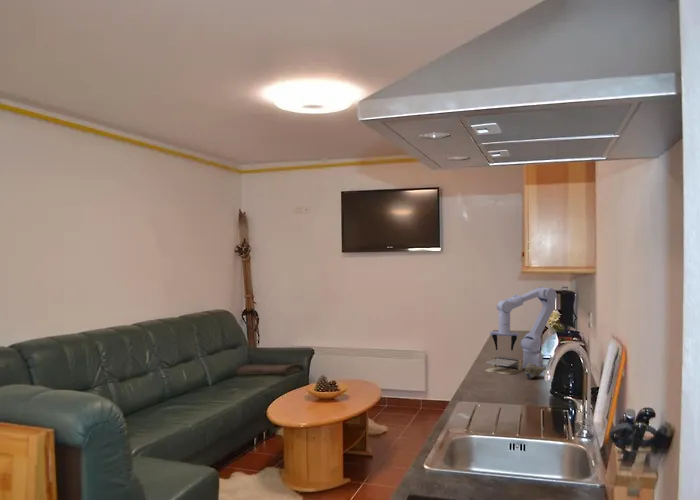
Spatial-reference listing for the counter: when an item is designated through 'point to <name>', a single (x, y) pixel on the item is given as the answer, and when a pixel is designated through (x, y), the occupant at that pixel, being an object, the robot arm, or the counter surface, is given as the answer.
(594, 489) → the counter surface
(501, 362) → the trapdoor
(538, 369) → the rock
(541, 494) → the counter surface
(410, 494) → the counter surface
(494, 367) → the frame
